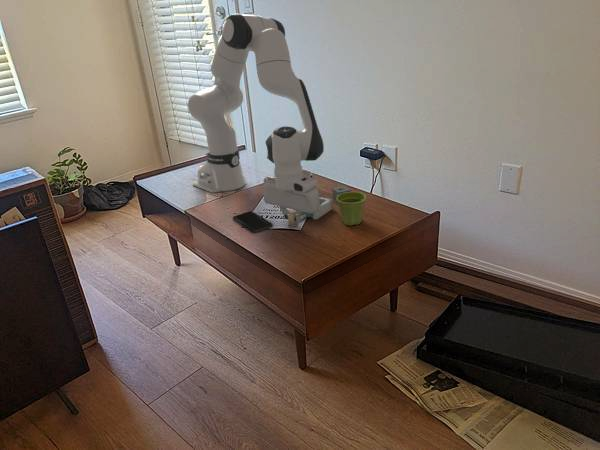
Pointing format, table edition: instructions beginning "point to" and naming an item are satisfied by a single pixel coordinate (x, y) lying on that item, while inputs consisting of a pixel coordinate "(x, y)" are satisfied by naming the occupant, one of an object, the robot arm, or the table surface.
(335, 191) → the grey cube with symbols
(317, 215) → the rail lane
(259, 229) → the phone
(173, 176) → the table surface
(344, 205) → the plant pot
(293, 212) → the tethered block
